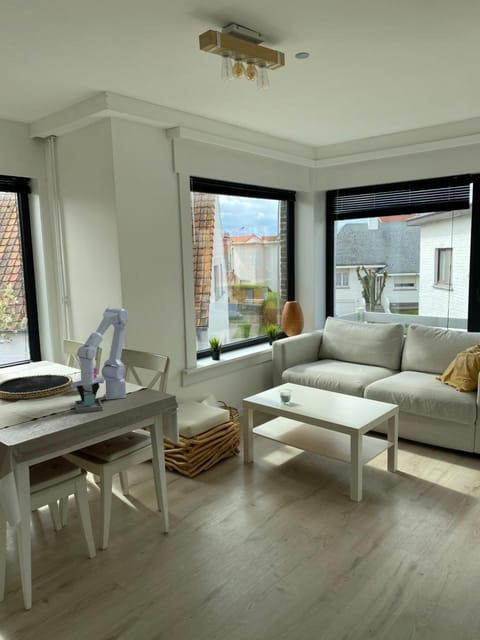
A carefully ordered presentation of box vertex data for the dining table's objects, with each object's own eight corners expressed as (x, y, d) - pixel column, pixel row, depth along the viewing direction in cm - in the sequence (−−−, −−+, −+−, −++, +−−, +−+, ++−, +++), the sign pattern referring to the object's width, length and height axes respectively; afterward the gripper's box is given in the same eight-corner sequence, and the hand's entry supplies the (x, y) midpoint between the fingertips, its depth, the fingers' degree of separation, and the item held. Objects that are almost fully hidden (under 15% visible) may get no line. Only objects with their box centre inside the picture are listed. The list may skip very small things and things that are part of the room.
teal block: (91, 400, 228) (91, 391, 227) (94, 403, 224) (94, 394, 223) (82, 402, 225) (81, 393, 224) (84, 405, 221) (84, 396, 221)
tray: (99, 402, 232) (99, 398, 232) (102, 410, 222) (102, 406, 222) (74, 404, 228) (74, 400, 227) (76, 413, 218) (76, 409, 217)
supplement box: (92, 392, 246) (91, 370, 244) (81, 391, 247) (80, 369, 245) (97, 388, 251) (96, 367, 249) (87, 387, 252) (86, 366, 250)
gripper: (100, 367, 229) (100, 395, 232) (68, 372, 221) (69, 400, 223) (105, 371, 223) (105, 399, 226) (72, 376, 215) (74, 405, 218)
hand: (88, 400), depth 224 cm, fingers closed on teal block, 4 cm apart
